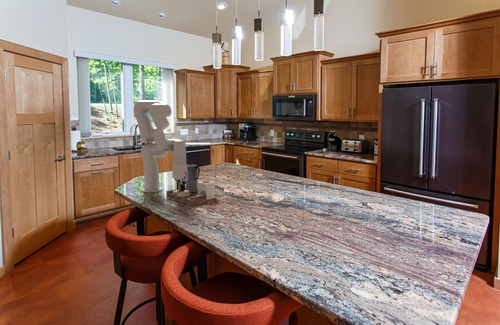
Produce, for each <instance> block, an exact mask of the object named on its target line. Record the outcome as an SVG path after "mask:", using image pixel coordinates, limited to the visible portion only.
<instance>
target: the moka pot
mask: <svg viewBox="0 0 500 325" xmlns="http://www.w3.org/2000/svg"><path fill="white" fill-rule="evenodd" d="M187 170H188V181H187V182H186V184H185V190H188V191H189V193H198V191H197V182H198V180H199V179H200V172H201V169H200V167H199V165H198V164H193V163H192V161H189V164H187Z"/></svg>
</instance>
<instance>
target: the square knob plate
mask: <svg viewBox="0 0 500 325" xmlns="http://www.w3.org/2000/svg"><path fill="white" fill-rule="evenodd" d="M180 185H181V181H178V189H179V190H176V191H173V195H175V196H179V197H186V196H189V193H190V192H189V191H188V190H186V189H185V190H184V191H181V189H180Z"/></svg>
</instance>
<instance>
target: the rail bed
mask: <svg viewBox="0 0 500 325" xmlns="http://www.w3.org/2000/svg"><path fill="white" fill-rule="evenodd" d="M176 190H177V188H175V189H170V190H166V192H165V193H166V194H165V196H166V199H167V200H171V201H175V202H177V203H181V204H184V205H188V206H191V207H193V206H196V205H200V204H204V203H207V202H208V200H207V195H206V194H202V195H199V196H198V194H194V193H191V192H189V196H186V197H179V196H175V195H173V191H176Z"/></svg>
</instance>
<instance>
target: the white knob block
mask: <svg viewBox="0 0 500 325" xmlns="http://www.w3.org/2000/svg"><path fill="white" fill-rule="evenodd" d="M215 188H216V187H215V181H211V180H209V183H203V180H202V181H201V180H200V181H197V195H198V196H199V195H202V194H206V195H207V201H208V200H212V199H215V198H216V192H215Z"/></svg>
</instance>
